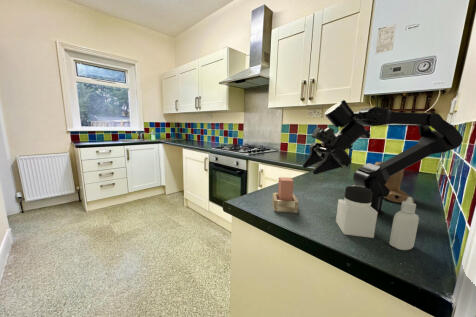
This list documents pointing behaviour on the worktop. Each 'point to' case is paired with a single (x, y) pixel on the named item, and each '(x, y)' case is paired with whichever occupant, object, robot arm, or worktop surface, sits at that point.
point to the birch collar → (284, 204)
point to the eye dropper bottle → (404, 226)
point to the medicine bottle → (357, 212)
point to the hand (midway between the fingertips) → (308, 170)
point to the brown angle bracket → (395, 187)
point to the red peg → (285, 189)
